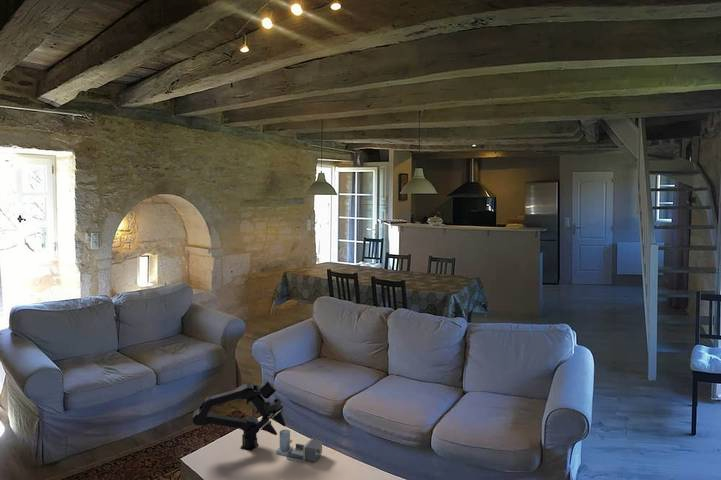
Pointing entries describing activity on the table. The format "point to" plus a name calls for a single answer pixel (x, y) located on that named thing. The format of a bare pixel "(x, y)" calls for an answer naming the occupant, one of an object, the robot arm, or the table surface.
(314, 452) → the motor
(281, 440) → the blue-grey knob on base
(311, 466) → the table surface
